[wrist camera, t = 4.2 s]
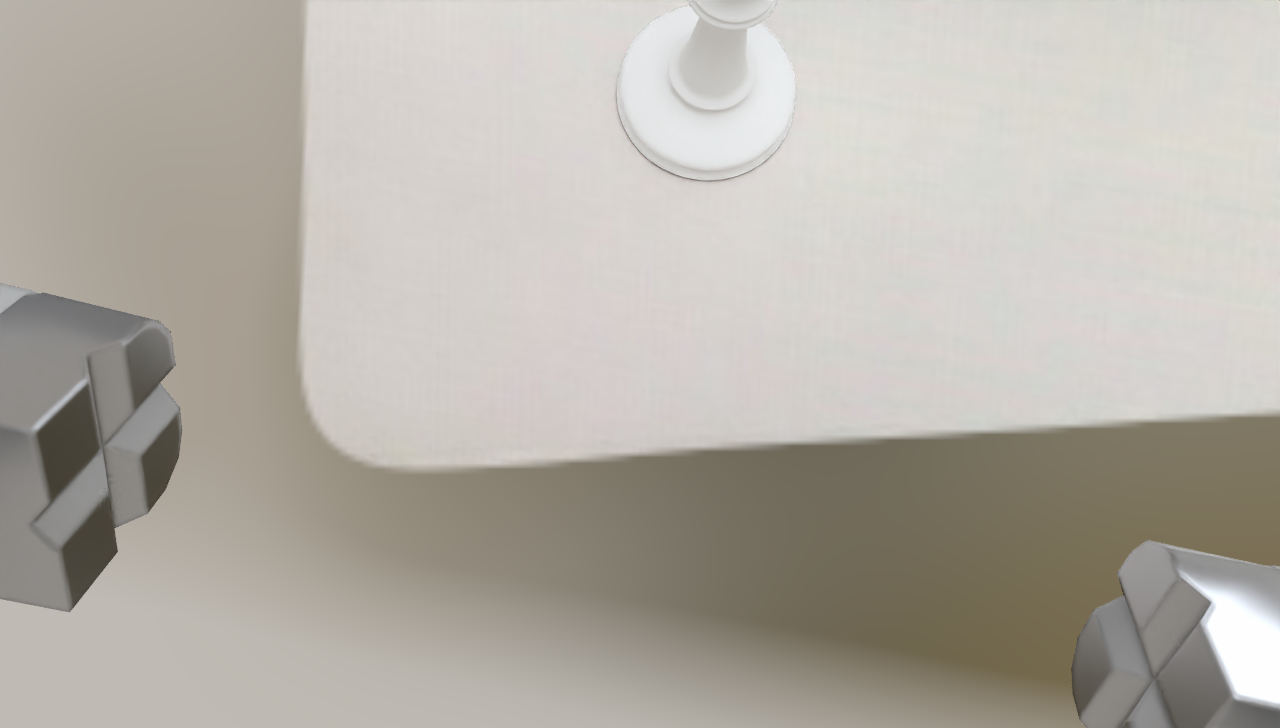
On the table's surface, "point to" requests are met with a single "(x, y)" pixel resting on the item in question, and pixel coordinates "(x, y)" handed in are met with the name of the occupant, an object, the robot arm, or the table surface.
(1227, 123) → the table surface
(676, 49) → the chess piece
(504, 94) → the table surface
